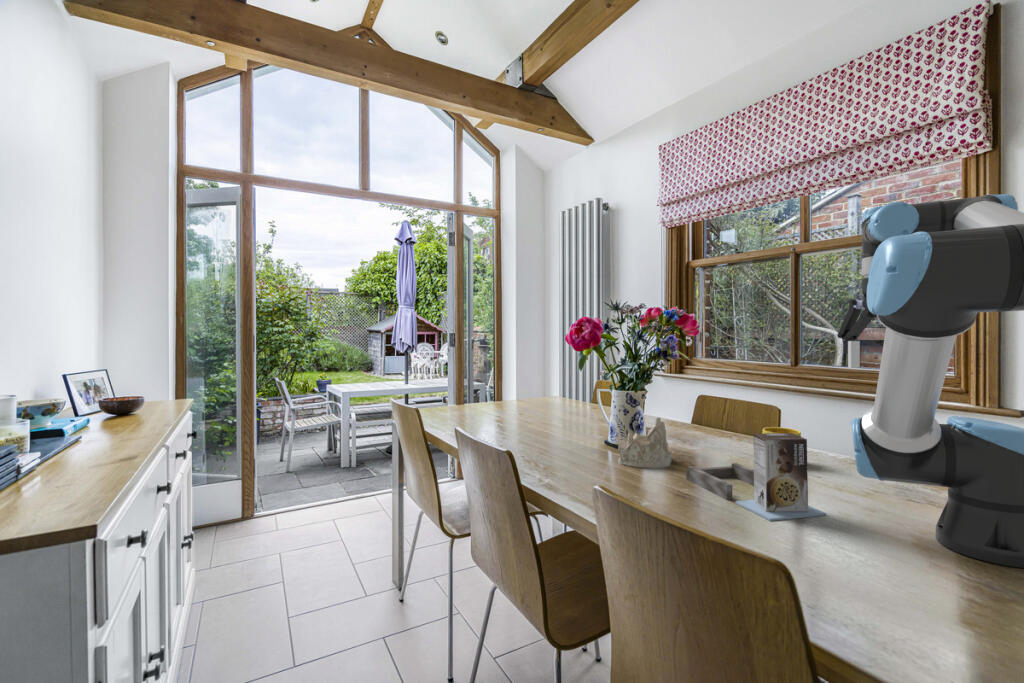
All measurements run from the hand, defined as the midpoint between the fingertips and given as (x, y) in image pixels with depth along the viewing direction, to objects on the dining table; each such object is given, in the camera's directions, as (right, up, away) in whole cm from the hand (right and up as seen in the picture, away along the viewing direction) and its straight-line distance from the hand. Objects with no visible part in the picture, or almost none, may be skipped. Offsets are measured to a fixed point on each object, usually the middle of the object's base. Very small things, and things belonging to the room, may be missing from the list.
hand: (882, 370), depth 110 cm
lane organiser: (-27, -31, +15) cm, 44 cm away
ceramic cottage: (-42, -31, +41) cm, 67 cm away
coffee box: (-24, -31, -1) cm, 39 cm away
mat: (-24, -31, -1) cm, 39 cm away
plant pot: (-2, -31, +38) cm, 49 cm away
